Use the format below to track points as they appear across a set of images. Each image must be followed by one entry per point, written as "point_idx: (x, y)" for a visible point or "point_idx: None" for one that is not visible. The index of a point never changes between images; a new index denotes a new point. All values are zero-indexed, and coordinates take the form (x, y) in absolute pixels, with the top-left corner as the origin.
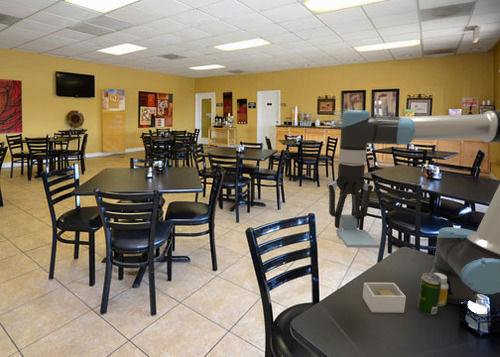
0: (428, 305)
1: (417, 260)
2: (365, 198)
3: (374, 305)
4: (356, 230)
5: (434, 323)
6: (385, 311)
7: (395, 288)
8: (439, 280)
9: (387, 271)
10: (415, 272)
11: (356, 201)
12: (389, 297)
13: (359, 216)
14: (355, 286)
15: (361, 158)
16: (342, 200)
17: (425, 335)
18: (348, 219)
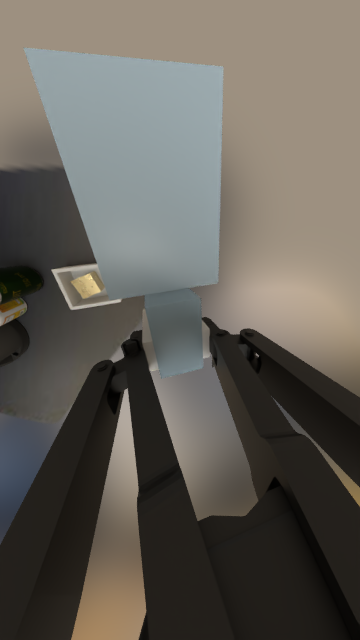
0: (15, 268)
1: (38, 400)
2: (63, 501)
3: None
4: (145, 289)
5: (17, 248)
6: (93, 263)
7: (70, 297)
8: None
9: (84, 364)
10: (43, 372)
11: (156, 432)
12: (81, 266)
13: (130, 354)
14: (131, 320)
15: None
16: (265, 405)
17: (34, 214)
18: (183, 320)
